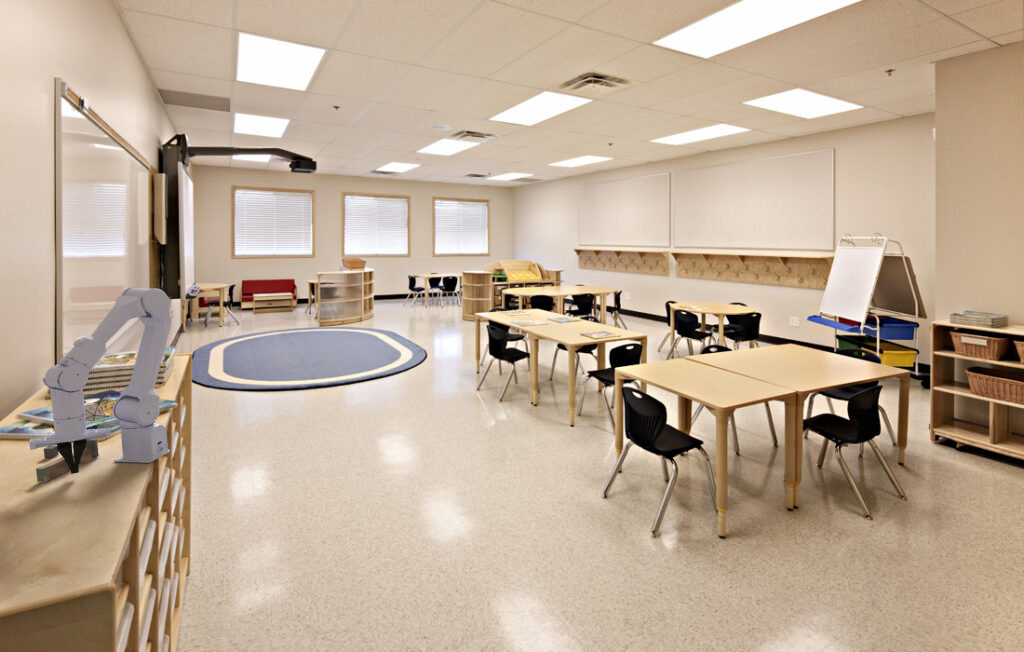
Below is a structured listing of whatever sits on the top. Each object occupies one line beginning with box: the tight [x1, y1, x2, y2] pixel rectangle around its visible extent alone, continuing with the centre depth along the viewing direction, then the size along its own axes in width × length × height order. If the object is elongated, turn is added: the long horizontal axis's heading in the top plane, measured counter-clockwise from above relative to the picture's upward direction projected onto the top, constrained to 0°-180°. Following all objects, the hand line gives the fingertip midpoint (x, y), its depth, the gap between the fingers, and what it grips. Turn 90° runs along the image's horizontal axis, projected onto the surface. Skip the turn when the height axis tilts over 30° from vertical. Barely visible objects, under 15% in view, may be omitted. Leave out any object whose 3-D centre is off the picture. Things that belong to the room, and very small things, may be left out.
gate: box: [35, 439, 99, 483], centre depth 132 cm, size 16×2×5 cm, turn 178°
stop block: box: [43, 445, 59, 459], centre depth 140 cm, size 2×2×2 cm
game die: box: [84, 399, 110, 422], centre depth 161 cm, size 9×8×10 cm
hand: (75, 472), depth 127 cm, fingers closed
